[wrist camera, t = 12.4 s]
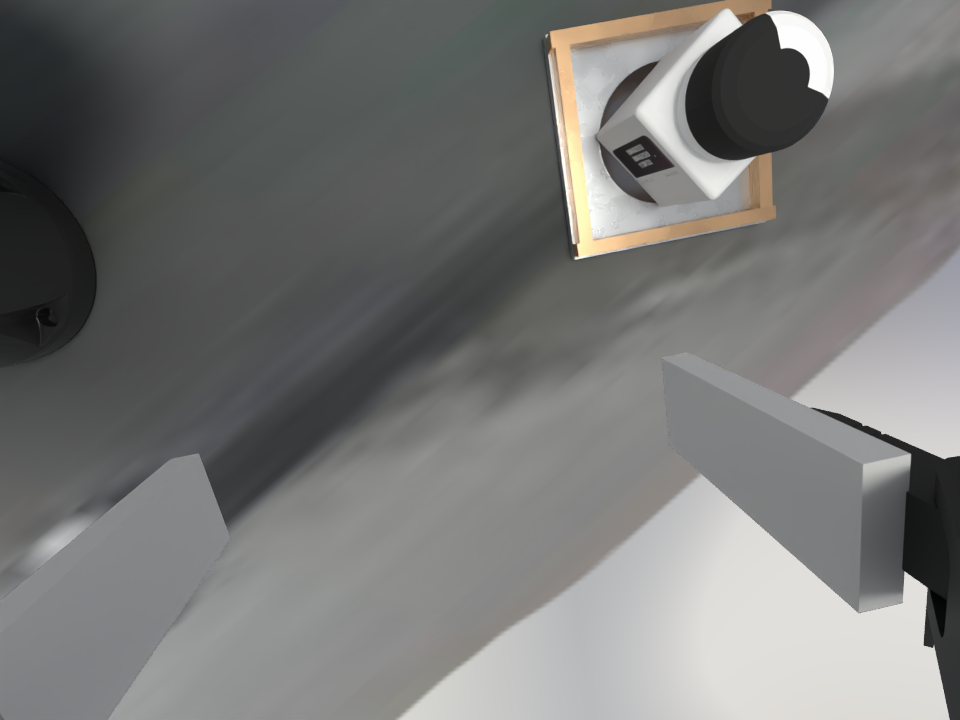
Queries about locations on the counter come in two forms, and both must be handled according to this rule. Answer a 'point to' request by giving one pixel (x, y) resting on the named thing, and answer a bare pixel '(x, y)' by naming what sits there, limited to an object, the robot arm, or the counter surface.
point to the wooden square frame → (593, 101)
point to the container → (721, 104)
